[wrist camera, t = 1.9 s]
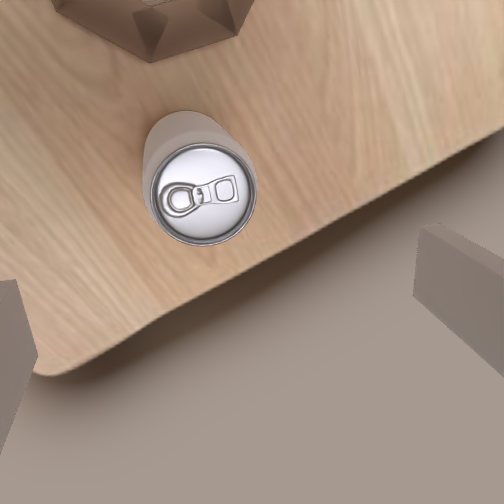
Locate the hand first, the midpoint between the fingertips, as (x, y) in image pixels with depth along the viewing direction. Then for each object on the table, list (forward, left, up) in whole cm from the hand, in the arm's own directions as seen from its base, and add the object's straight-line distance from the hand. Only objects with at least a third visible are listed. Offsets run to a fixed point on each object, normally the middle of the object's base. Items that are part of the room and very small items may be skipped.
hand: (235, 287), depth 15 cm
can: (0, 0, -22) cm, 22 cm away
